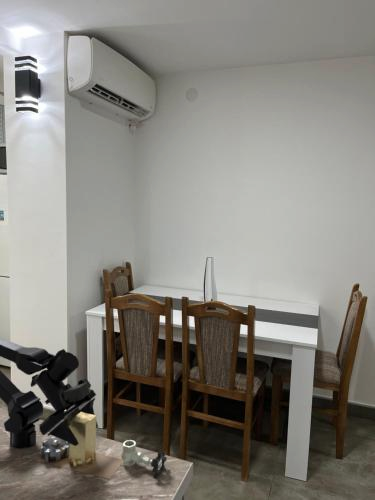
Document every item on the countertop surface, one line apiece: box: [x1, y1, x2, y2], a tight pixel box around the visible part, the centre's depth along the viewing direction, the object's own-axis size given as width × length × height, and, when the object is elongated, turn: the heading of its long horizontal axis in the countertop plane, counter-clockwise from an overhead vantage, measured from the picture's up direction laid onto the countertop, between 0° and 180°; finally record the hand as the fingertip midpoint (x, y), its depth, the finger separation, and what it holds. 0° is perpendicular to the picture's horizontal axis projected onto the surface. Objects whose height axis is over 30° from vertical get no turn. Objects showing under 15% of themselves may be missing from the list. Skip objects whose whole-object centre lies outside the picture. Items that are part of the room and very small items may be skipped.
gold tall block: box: [69, 412, 97, 468], centre depth 107 cm, size 7×7×12 cm
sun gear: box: [39, 436, 70, 464], centre depth 109 cm, size 8×8×4 cm
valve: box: [121, 439, 168, 479], centre depth 105 cm, size 7×7×12 cm
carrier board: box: [32, 452, 123, 480], centre depth 107 cm, size 24×9×1 cm, turn 73°
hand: (87, 436), depth 106 cm, fingers open, 9 cm apart
